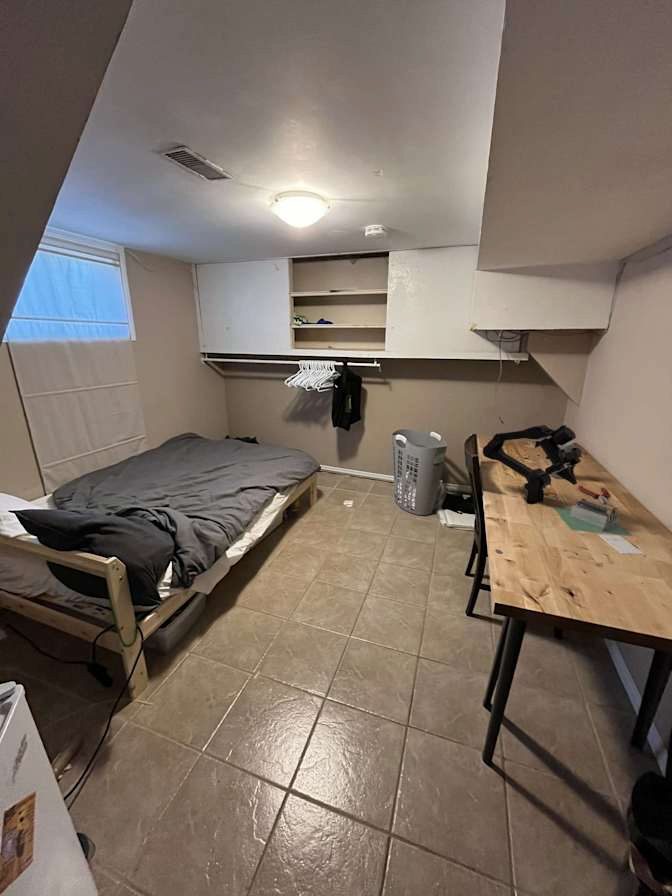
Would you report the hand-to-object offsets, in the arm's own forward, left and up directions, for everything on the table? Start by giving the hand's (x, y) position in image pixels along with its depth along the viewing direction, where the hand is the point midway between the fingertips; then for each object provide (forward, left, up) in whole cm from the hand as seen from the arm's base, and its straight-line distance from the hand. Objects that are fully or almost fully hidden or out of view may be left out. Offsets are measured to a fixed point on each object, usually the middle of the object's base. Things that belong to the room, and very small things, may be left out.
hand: (575, 484), depth 147 cm
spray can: (+12, +50, -14) cm, 53 cm away
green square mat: (+5, -6, -14) cm, 16 cm away
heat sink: (+6, -6, -13) cm, 15 cm away
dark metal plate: (+6, -6, -7) cm, 11 cm away
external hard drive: (+8, -24, -14) cm, 29 cm away
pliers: (+19, +24, -14) cm, 34 cm away
